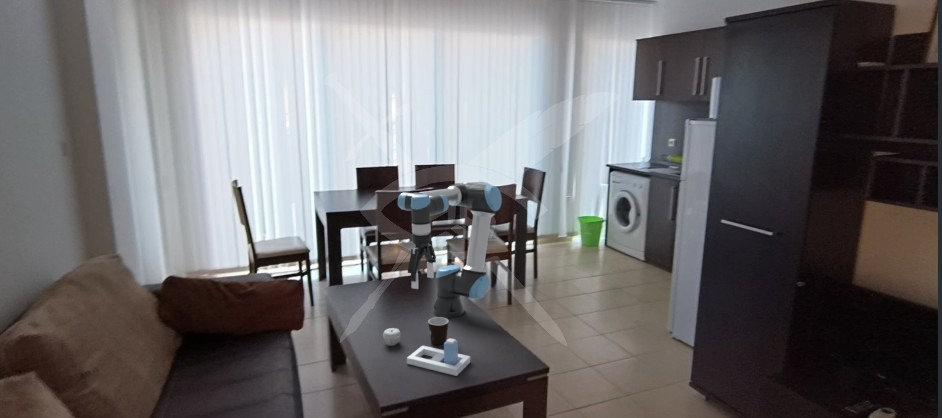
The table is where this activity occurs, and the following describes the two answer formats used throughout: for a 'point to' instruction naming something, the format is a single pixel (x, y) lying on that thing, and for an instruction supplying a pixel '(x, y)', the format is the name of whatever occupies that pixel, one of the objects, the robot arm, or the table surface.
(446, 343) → the plug
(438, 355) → the panel
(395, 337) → the apple
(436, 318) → the coffee mug
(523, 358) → the table surface
